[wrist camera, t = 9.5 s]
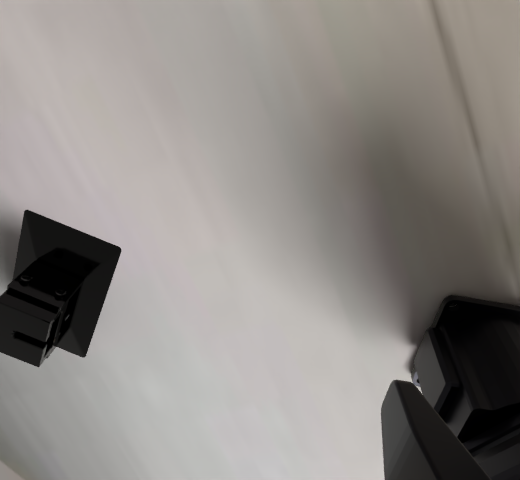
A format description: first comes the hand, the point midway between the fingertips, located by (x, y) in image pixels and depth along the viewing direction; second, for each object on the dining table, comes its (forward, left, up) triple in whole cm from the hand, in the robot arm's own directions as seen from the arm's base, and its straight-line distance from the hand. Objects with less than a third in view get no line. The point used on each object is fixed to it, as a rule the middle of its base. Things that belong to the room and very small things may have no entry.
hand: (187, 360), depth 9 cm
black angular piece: (+11, +10, -14) cm, 20 cm away
